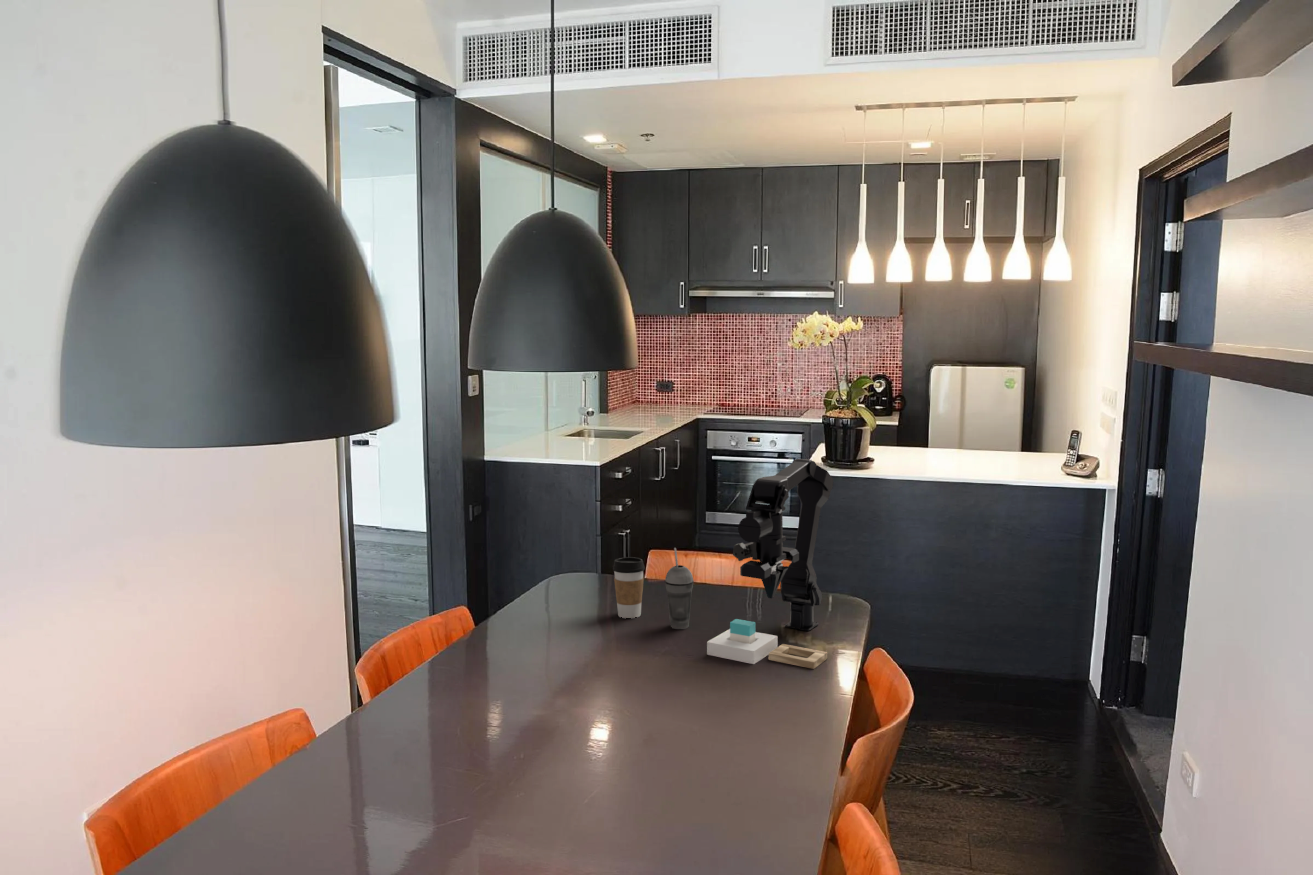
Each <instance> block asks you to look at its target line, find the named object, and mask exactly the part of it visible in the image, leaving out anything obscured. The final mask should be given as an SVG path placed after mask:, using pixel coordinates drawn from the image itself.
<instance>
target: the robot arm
mask: <svg viewBox="0 0 1313 875" xmlns="http://www.w3.org/2000/svg"><path fill="white" fill-rule="evenodd" d="M796 486H797V490H796V491H797V495H798V498H799V500H800V503H801V507H800V513H799V520H798V526H797V532H796V538H795V544H794V548H793V547H787V546H783V545H784V544H783V542H786V541H787V536H786V535H783V534H784V533H783V531H784V529H783V525H784V524H783V512H784V511H785V510H786V507H785V503H786V501H787V499H788V498H789V496H790V495H789V492H790V491H791V490H793V489H794V487H796ZM833 486H834V479H833V476H832V475H831V474H830V473H829V471H828V470H827V469H824V468H823V467H821V466H820V465H817V463H816V462H815V461H814V460H812V459H809V458H807V459H806V458H804V459H803V458H796V459H793V460H792V462H791V464H789V465H787V466H786V467H784V468H783V469H781V470H780V471H779V472H777V473H776V474H775V475H774V474H773V475H770V476H769V475H768V476H762V477H759V478H757V479H756V480H755V481H754V483H753V485H752V487H751V490H750V494H749V497H748V499H747V503H746V506H745V510H746V512H745V517H743V518H742V519H741V520H740V521H739V524H738V526H737V530H738V534H739V536H740V538H741V539H742V540H743V541H745V542H746V543H744V542H740V543H736V544H734V545H733V548H732V550H733V553H732V556H734V558H736V559H737V560H738V562H741V561H743V560H746V559H750V558H752V559H751V560H748V561H747V562H744V563H743V564H742V565H741V566H740V567H739V568H740V570H739V572H740V573H739V574H740V576H741V577H746V578H750V579H751V578H753V579H758V580H761V582H762V585H763V587H764V590H765V593H766V596H767V598H768V599H771V600H772V599H773V598H774V597H775V595H776V593H777V591H778V589H779V588H780V593H781V599H782V602H786V603H790V606H789V608H790V609H789V611H790V612H789V616H790V617H789V618H790V619H789V620H790V621H788V622H787V623H786V624H784V627H785V628H790V629H795V630H800V631H804V632H805V631H806V632H808V631H810V630H812V629H814V628H815V627H817V626H819V622H818V621H814V607H815V606H820V605H821V603H822V598H823V593H822V591H821V589H820V587H819V585H818V584H817V579H818V578H817V574H816V571H815V568H814V566H813V560H814V553H815V548H816V543H817V542H816V541H817V536H818V535H817V534H818V530H819V522H820V515H821V511H822V508H823V506H824V505H825V503H827V501H829V499H830V496H831V492H832V490H833ZM785 560H790V561H791V562H790V563H789V565H788V566H787V565H785V566H784V565H783V562H784V561H785Z"/></svg>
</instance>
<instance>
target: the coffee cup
mask: <svg viewBox="0 0 1313 875" xmlns="http://www.w3.org/2000/svg"><path fill="white" fill-rule="evenodd" d="M645 570H646V568H645V564H644V560H643V559H642V558H640V557H633V556H626V557H619V558H615V559H614V562H613V566H612V571H613V572H614V578H613V581H614V589H615V598H616V606H617V615H618V617H619V618H621V617H622V618H621V619H626V618H631V619H636V618H635V617H637V618H639V617H640V616H642V615H641V614H642V602H643V601H642V600H643V593H644V592H643V590H644V581H645V580H644V579H645V578H644V571H645Z"/></svg>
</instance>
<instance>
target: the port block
mask: <svg viewBox="0 0 1313 875" xmlns="http://www.w3.org/2000/svg"><path fill="white" fill-rule="evenodd" d="M778 639H779V638H778V635H773V634H769V633H763V632H757V631H755V642H753V643H752V644H747V643H742V642H737V641H732V640H730V628H729V629H727V630H726V631H723V632H722V633H720V634H718V635H717V636H715V637H713V638H711V639H709V640H708V641H707V642H706V655H708V656H712V657H718V658H722V659H728V660H731V661H737V662H742V663H745V664H750V665H755V664H756V663H758V662H760V661H761V660H763V659H764V658H765V657H767V656H769V653H770V652H771V651H773V650H774V649H776V648H777V647H778V643H779V642H778Z"/></svg>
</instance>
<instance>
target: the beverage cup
mask: <svg viewBox="0 0 1313 875" xmlns="http://www.w3.org/2000/svg"><path fill="white" fill-rule="evenodd" d="M673 551H674V558H675V565H674V566H672V567H671V568H669V570H668V571H667V572H666V574H665V579H664V583H665V590H666V593H667V603H668V604H667V606H668V614H669V615H668V616H669V622H670V628H671V627H672V629H675V630H685V629H688V628H689V624H690V618H691V617H690V616H691V603H692V593H693V592H692V591H693V587H694V583H695V580H694V577H693V576H694V575H693V573H692V571H691V570H690V569H689V568H688V567H687V566H685V565H681V564H679V563H678V562H679V561H678V552H677V548H676V547H674V548H673Z"/></svg>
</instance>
